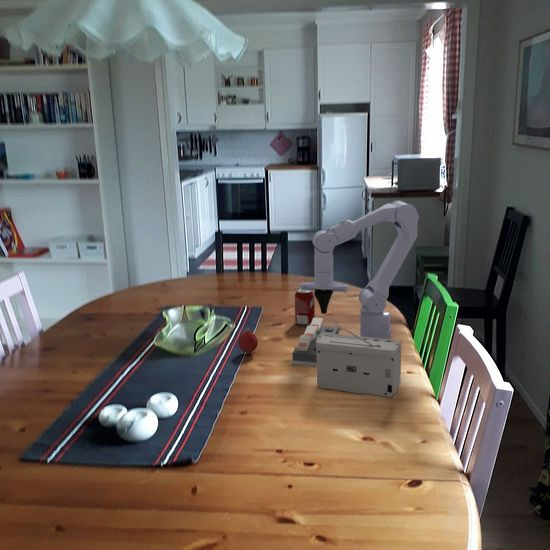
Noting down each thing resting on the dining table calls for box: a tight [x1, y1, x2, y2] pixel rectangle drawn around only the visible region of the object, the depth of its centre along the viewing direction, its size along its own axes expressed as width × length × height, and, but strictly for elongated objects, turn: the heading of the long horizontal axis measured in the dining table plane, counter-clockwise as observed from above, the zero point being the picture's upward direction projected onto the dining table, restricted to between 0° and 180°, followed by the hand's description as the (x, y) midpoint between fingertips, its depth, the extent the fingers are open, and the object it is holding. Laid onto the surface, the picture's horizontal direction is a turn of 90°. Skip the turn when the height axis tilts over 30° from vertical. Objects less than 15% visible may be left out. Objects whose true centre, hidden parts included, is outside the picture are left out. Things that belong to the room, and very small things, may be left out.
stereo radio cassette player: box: [316, 314, 402, 398], centre depth 141 cm, size 21×8×20 cm, turn 70°
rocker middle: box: [303, 325, 318, 341], centre depth 170 cm, size 3×6×1 cm, turn 163°
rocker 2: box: [309, 317, 324, 332], centre depth 177 cm, size 3×6×1 cm, turn 163°
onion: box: [237, 328, 259, 355], centre depth 166 cm, size 6×6×8 cm
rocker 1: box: [295, 334, 312, 351], centre depth 162 cm, size 3×6×1 cm, turn 163°
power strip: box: [290, 324, 341, 368], centre depth 170 cm, size 9×27×4 cm, turn 163°
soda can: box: [294, 287, 316, 327], centre depth 191 cm, size 7×7×12 cm
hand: (324, 312), depth 173 cm, fingers closed
